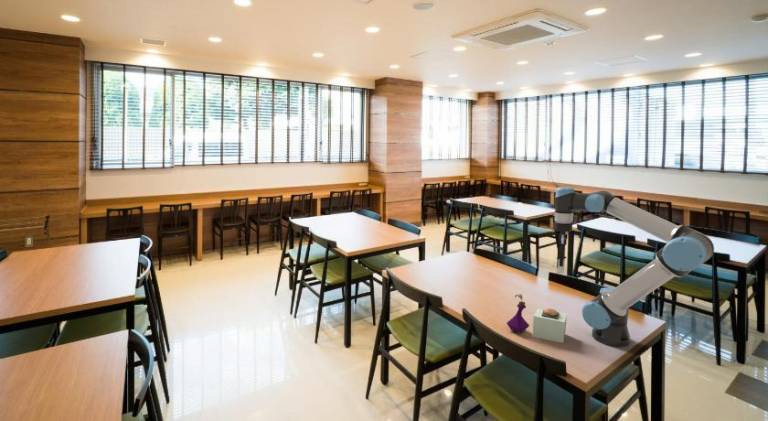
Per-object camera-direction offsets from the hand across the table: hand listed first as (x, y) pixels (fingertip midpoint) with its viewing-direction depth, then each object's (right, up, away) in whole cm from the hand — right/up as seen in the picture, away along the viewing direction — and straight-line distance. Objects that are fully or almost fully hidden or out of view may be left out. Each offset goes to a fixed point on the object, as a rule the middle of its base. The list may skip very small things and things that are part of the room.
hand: (560, 272), depth 183 cm
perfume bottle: (-18, -29, +7) cm, 35 cm away
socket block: (-4, -29, +2) cm, 30 cm away
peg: (-5, -28, +2) cm, 28 cm away
